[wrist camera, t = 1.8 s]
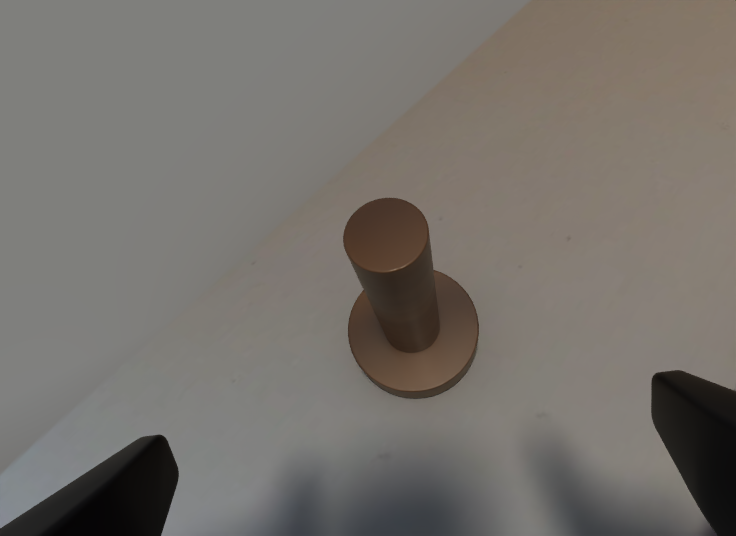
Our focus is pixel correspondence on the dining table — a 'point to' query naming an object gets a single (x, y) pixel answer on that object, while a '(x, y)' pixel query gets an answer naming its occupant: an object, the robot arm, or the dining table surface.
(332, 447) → the dining table surface
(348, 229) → the brown flanged post
